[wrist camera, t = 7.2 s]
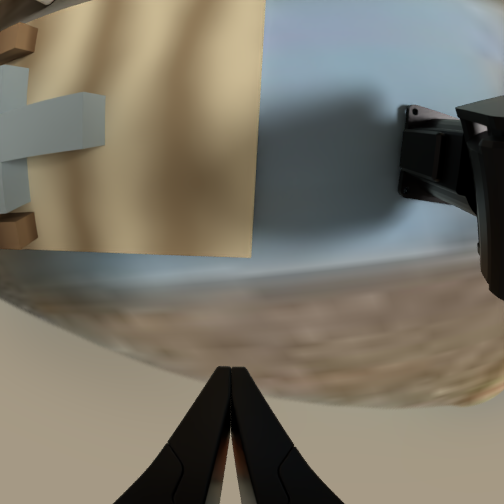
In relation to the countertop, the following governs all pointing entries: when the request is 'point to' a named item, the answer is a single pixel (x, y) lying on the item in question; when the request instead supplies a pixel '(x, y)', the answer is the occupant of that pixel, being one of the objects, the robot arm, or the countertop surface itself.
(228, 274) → the countertop surface
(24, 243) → the birch board
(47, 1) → the medicine bottle
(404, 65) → the countertop surface
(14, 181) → the tee block
